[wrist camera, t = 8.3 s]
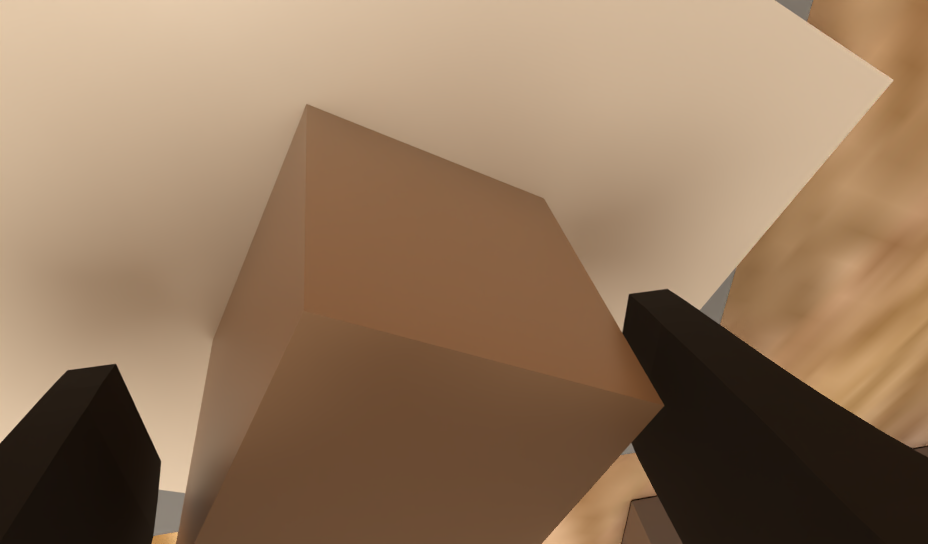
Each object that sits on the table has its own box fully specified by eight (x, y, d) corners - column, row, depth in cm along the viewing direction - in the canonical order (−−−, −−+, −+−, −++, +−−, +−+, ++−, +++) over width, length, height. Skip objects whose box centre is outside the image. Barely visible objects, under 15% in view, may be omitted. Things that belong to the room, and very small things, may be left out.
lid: (863, 65, 12) (1196, 226, 8) (502, 511, 19) (565, 746, 14) (-2, -511, 6) (-762, -1258, 2) (-97, 420, 13) (-327, 769, 8)
